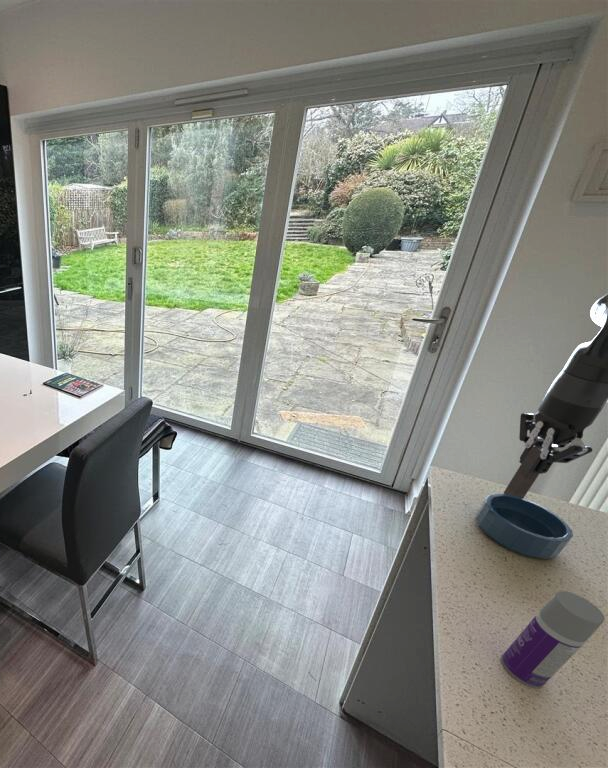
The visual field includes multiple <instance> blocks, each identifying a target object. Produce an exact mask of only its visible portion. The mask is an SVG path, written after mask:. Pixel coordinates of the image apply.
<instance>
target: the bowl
mask: <svg viewBox="0 0 608 768" xmlns="http://www.w3.org/2000/svg"><path fill="white" fill-rule="evenodd" d="M475 521H476V522H477V524H478V526H479V528H481V530H482V531H483V532H484V533H485V534H486V535H487V536H488V537H490V538H491V539H492V540H493V541H495V542H496V543H497V544H499V545H501V546H503V547H504V548H507V549H508V550H510V551H513V552H515V553H517V554H520V555H523V556H527V557H531V558H536V559H548V560H549V559H553V558H557V557H558V555H559V554H560V553H562V551H563V550H564V548H565V547H566V546H567V544H569V542H570V541H571V540H572V538H573V537H574V533H573V529H572V528H571V526H570V525H569V524H568V523H567V522H566V521H565V520H564V519H563V518H561V517H560V516H559V515H558V514H556V513H555V512H553V511H551V510H550V509H548V508H546V507H545V506H543V505H540V504H538V503H537V502H534V501H532V500H529V499H526V498H525V497H524V498H521V497H517V496H513V495H509V494H504V493H500V492H498V493H493V494H492V493H491V494H489V495H487V497H485V499H484V500H483V502H482V504H481V506H480V507H479V508H478V510H477V512H476V514H475Z"/></svg>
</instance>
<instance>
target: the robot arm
mask: <svg viewBox="0 0 608 768" xmlns="http://www.w3.org/2000/svg"><path fill="white" fill-rule="evenodd" d="M589 314H590V318H591V320H592V321H593V322H594V323H595V324H596V325H597V326H599V327H601V329H600V331H599V332H598V333H597V335H595V337H594V338H593V339H592V340H591V341H588V342H583V343H580V344H579V345H578V346H577V347H576V348H575V349H574V351H573V352H572V354H571V355H570V357H569V359H568V360H567V362H566V363H565V365H564V367H563V369H562V370H561V371H560V373H559V374H558V375H557V376H556V378H555V379H554V380H553V381H552V384H551V385H550V387H549V389H548V390H547V392H546V393H545V395H544V397H543V398H542V400H541V401H540V404H538V407H537V410H538V412H536V413H527V412H526V413H525V412H522V413H521V414H520V420H519V436H518V439H519V441H520V442H523V443H524V447H525V448H524V449H523V451H522V452H521V454H520V457H519V461H518V462H519V463H520V465H521V464H522V462H523V461H524V459H525V457H526V456H527V454H528V453H529V451H530V449H531V448H532V446H542V447H543V450H542V452H541V454H540V457H538V458H537V460H536V461H535V463H534V464H533V466H532V468H531V469H530V471H532V472H533V473H537V474H539V475H542V474H546V473H548V471H549V470H550V468H551V467H552V465H553V464H554V463H556V464H557V463H558V464H561V463H562V464H568V463H570V462H572V461H575V460H577V459H579V458H582V457H583V456H586V455H588V454H590V453H592V452H593V447H591V446H590V445H586V444H585V443H584V442H583V440H582V438H583V437H584V431H585V429H587V428H588V427H590V426H592V425H593V424H594V422H595V420H596V419H597V418H598V416H599V414H600V413H601V411H602V410H603V409H604V407H605V406H606V404H607V403H608V293H607V294H605V295H603V296H602V297H600V298H599V299H597V300H596V301H595V302H594V304H593V305H592V306H591V309H590V313H589ZM528 431H529V434H528ZM551 451H552V454H550V453H551Z"/></svg>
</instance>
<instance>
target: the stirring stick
mask: <svg viewBox="0 0 608 768" xmlns="http://www.w3.org/2000/svg"><path fill="white" fill-rule="evenodd" d="M542 450H543V447H542V446H532V448H531V449H530V451H529V453H528V454H527V456H526V457H525V459H524V461H523V462H522V464H521V463H520V465H519V467H518V468H517V470H516V472H515V473H514V475H513V477H511V480H510V481H509V482H508V485H507V486H506V488H505V490H504V491H503V494H509V495H513V496H517V497H521V498H524V499H525V497H526V495H527V494H528V492H529V491H530V489H531V487H532V486H533V485H534V483H535V482H536V480H537V478H538V477H539V475H540V474H537V473H533V472H532V471H530V469H531V468H532V466H533V464H534V463H535V461H536V460H537V458H538V457H540V454H541V452H542ZM552 452H553V451H551V453H550V454H552Z"/></svg>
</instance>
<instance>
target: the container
mask: <svg viewBox="0 0 608 768" xmlns="http://www.w3.org/2000/svg"><path fill="white" fill-rule="evenodd" d="M605 620H606V619H605V616H604V614H603V611H601V610H600V609H599V608H598V606H596V605H595V604H593V603H592V602H591V601H590V600H588V599H586V598H584V597H582V596H580V595H578V594H576V593H573V592H570V591H566V590H565V591H564V590H560V591H559V590H558V591H557V592H556V593H555V594H554V595H553V596H552V597H551V598H550V599H549V601H548V602H547V603H546V604H545V605H544V606H543V607H542V608H541V609H540V610H539V612H538V613H536V615H534V617H533V618H532V619H531V621H530V622H529V623H528V624H527V625H526V627H525V628H524V629H523V630H522V631H521V632H520V634H519V635H518V636H517V637H516V638H515V639H514V640H513V642H512V643H511V644H510V646H509V647H508V648H507V649H506V650H505V652H504V653H503V654H502V655H501V657H500V662H501V665H502V666H503V669H505V670H506V673H508V674H509V676H511V677H512V678H513V679H514V680H516V681H518V682H519V683H521V684H522V685H524V686H527V687H529V688H533V689H540V688H542V687H543V686H544V685H545V684H546V683H547V682H548V681H549V680H550V679H551V678H552V677H554V675H555V674H556V673H557V672H558V671H559V670H560V669H561V668H562V667H563V666H564V665H565V664H566V663H567V662H568V661H569V660H570V659H571V658H572V657H574V655H576V653H577V652H578V651H579V650H580V649H581V648H582V647H583V646H584V644H585V643H587V642H588V640H589V639H590V638H591V637H592V635H593V634H595V632H596V631H597V630H598V629H599V628H600V626H602V624H603V623H604V622H605Z"/></svg>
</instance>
